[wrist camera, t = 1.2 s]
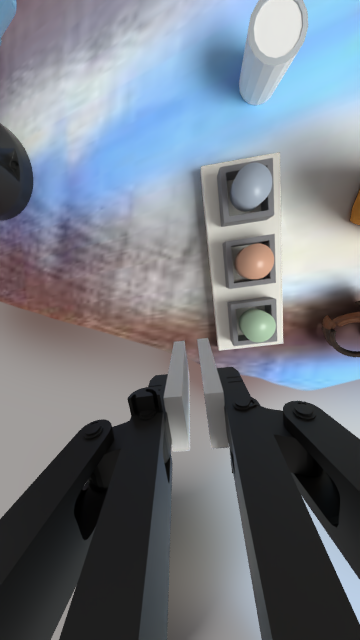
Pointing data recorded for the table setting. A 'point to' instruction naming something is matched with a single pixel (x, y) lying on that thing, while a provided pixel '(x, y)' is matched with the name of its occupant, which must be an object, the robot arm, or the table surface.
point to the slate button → (250, 187)
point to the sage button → (257, 325)
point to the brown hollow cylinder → (339, 321)
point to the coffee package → (356, 211)
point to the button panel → (232, 236)
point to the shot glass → (271, 46)
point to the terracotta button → (254, 261)
